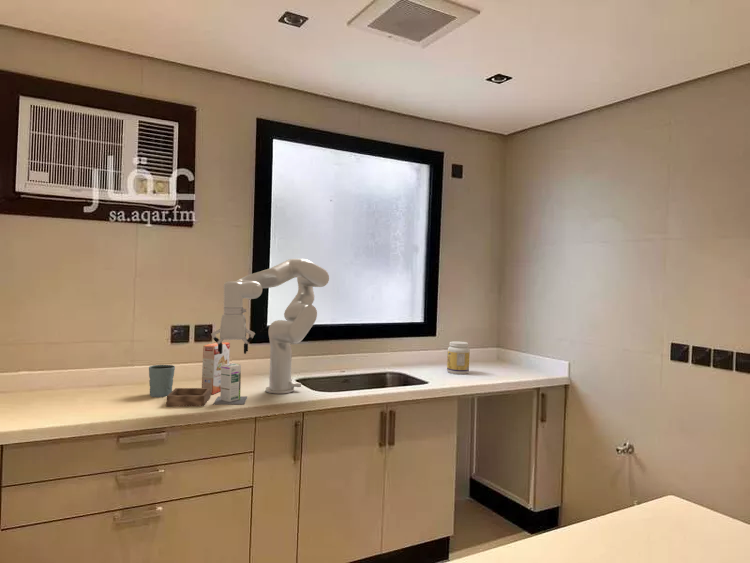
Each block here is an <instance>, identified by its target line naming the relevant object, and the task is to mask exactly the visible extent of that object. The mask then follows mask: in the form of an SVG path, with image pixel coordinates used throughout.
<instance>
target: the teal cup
mask: <svg viewBox="0 0 750 563" xmlns="http://www.w3.org/2000/svg"><path fill="white" fill-rule="evenodd" d="M175 369H176V366H175V365H172V364H156V365H155V364H154V365H150V366H149V367H148V377H149V380H148V381H149V396H150V397H151V398H167V397H166V396H168V395H169V394H170V393H171V392H172V391H173V384H174V376H175Z"/></svg>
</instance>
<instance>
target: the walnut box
mask: <svg viewBox="0 0 750 563" xmlns="http://www.w3.org/2000/svg"><path fill="white" fill-rule="evenodd" d="M211 395H212V394H211V388H202V387H189V388H188V387H183V388H182V387H176V388H174V389H172V392H171V393H170V394H169V395H168V396H167V397H166V406H169V407H205V406H206V404H207V403H208V402H207V401H209V400H211ZM204 405H205V406H204Z"/></svg>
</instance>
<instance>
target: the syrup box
mask: <svg viewBox="0 0 750 563" xmlns="http://www.w3.org/2000/svg"><path fill="white" fill-rule="evenodd" d="M241 369H242V365H241V363H240V364H239V363H233V362H232V363H229V364H226V365H221V391H220V395H219V396H220V399H221V400H223V401H227V402H231V401H235V400H240V396H241V384H242V382H241V378H242V375H241V372H242V370H241Z"/></svg>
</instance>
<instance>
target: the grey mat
mask: <svg viewBox="0 0 750 563" xmlns="http://www.w3.org/2000/svg"><path fill="white" fill-rule="evenodd" d="M247 399H248V396H241V395H240V400H235V401H231V402H227V401H223V400H221V399H220V395H219V396H217V397H216V399H215V400H214V402H213V404H212V405H214V404H215V405H216V406H217V405H220V406H221V405H227V406H228V405H229V406H231V405H237V406H238V405H245V403H246V401H247Z"/></svg>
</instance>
